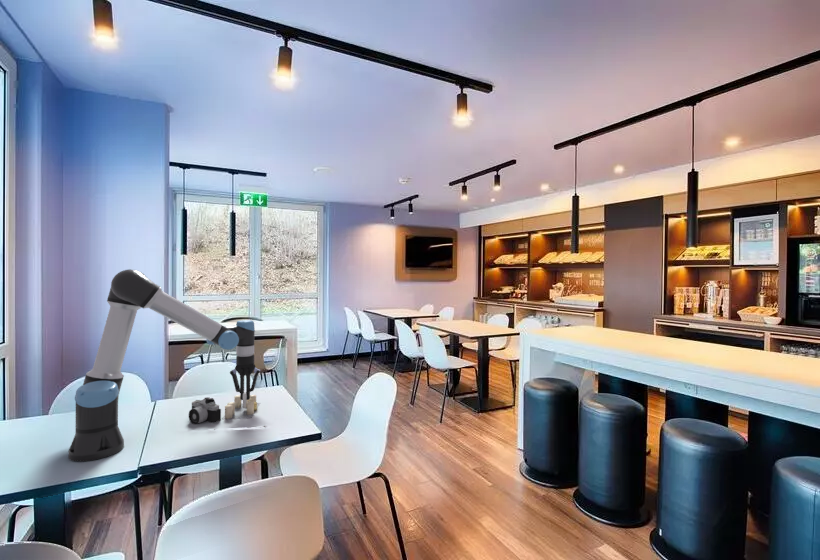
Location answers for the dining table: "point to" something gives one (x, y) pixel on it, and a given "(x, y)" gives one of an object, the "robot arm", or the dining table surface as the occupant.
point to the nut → (255, 406)
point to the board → (240, 408)
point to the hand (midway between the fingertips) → (245, 406)
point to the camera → (204, 411)
